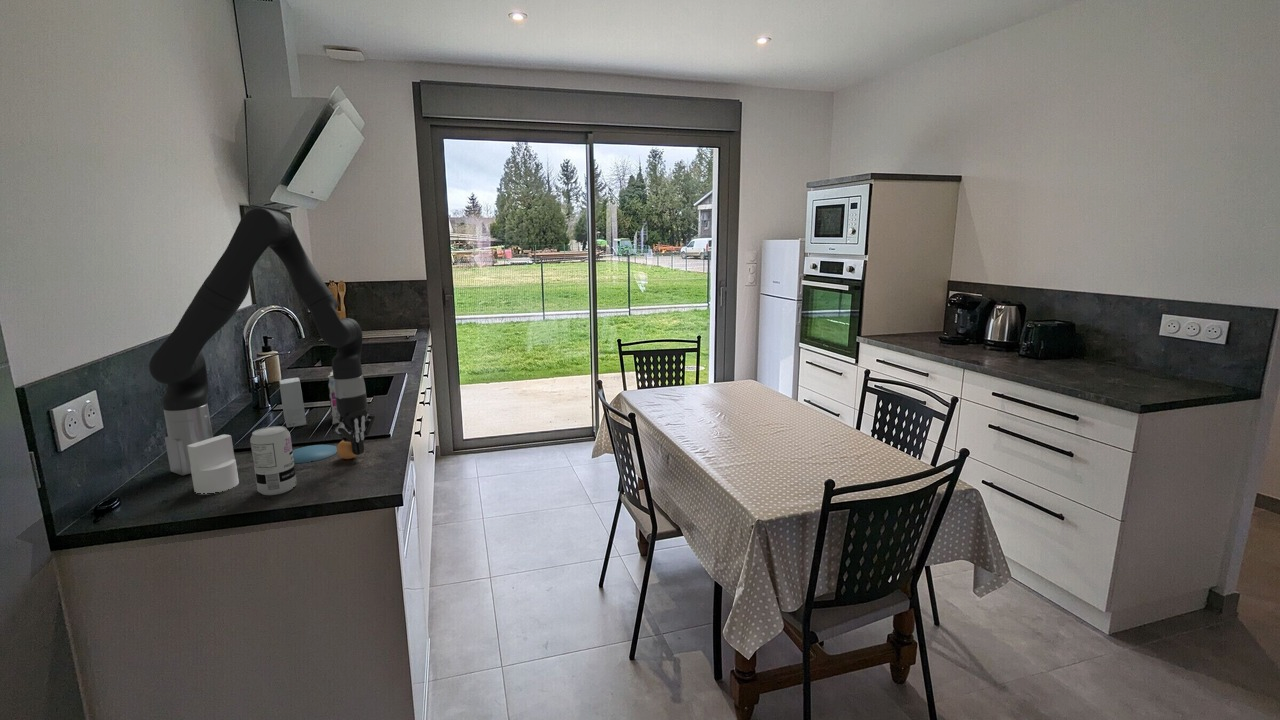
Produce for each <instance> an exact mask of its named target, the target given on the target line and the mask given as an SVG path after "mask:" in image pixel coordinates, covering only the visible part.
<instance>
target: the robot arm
mask: <svg viewBox="0 0 1280 720" xmlns="http://www.w3.org/2000/svg"><path fill="white" fill-rule="evenodd" d="M301 243H302V242H301V241H300V239H299V237H298V235H297V232H296V231H295V228H294V226H293V225H292V222H291V221H290V219H289V218H288V217H287V216H286V215H285V214H283V213H282V212H279V211H276V210H272V209H269V208H263V207H255V208H251V209H249V210H248V211H247V212H246V213H245V214H243V216H242V217H241V219H240V221H239V223H238V225H237V227H236V229H235V231H234V233H233V235H232V237H231V239H230V240H229V243H228V244H227V246H226V248H225V250H224V251H223V253H222V255H221V256H220V258H219V259H218V261H217V262H216V264H215V265H214V267H213V268H212V270H211V271H210V273H209V274H208V276H207V277H206V278H205V280H204V282H203V283H202V284H201V286H200V287H199V289H198V290H197V292H196V294H195V296H194V297H193V299H192V300H191V302H190V303H189V305H188V307H187V308H186V310H185V311H184V313H183V315H182V317H181V318H180V320H179V322H178V324H177V325H176V327H175V328H174V329H173V331H172V332H171V334H170V335H168V336H167V338H166V339H165V341H164V342H163V343H162V344H161V345H160V346H159V348H157V350H156V351H155V352H154V354H153V355H152V356H151V358H150V361H149V365H148V366H149V367H148V369H149V373H150V375H151V377H152V378H153V379H154V380H155V381H156V382H159V383H161V384H166V385H167V387H166V392H165V394H164V395H163V397H162V399H161V402H162V408H163V413H164V415H163V416H164V420H165V426H166V432H167V436H165V437H164V441H165V447H166V452H167V459H168V464H169V469H170V472H172V473H174V474H177V475H180V476H185V475H190V474H191V465H190V459H189V453H188V447H187V445H190V444H193V443H197V442H200V441H203V440H207V439H210V438H213V437H214V435H213V429H212V423H211V416H210V410H209V405H208V393H209V381H208V371H207V364H206V359H205V356H204V354H203V353H202V350H203V348H204V347H205V345H206V344H207V342H209V340H210V339H211V338H212V337H213V336H215V334H217V333H218V332H219V331H220V330H221V329H222V328H223V327H224V326H225V325H226V324H227V323H228V322H229V321H230V320H231V319H232V318H233V316H234V315H235V314H236V312H238V310H239V309H240V307H241V305H242V304H243V302H244V301H245V299H246V298H247V295H248V293H249V289H250V285H251V280H252V279H251V278H252V275H253V270H254V267H255V266H256V264H257V262H258V260H259V259H260V258H261V256H262V255H263V253H264V252H265V251H266V250H267V249H268V248H270V249H271V250H272V251H273V252H274V253H275V254H276V256H277V257H278V258H279V260H280V261H281V262H282V263H283V265H284V267H285V268H286V270H287V273H288V274H289V278H290V281H291V283H292V286H293V288H294V291H295V292H296V294H297V295H298V297H299V299H300V300H301V301H302V302H303V303H302V304H304V306H305V307H306V308H307V311H309V313H310V314H311V317H312V320H313V322H314V325H315V327H316V329H317V332H318V335H319V336H320V338H321V339H322V341H324V343H325V344H327V345H328V346H329V347H331V348H335V349H337V350H336V355H335V356H333V358H332V360H331V369H332V370H331V371H333V378H334V392H335V399H336V407H337V411H338V412H339V414H340V418H339V422H340V424H337V426H335V427H333V428H332V431H333V432H334V433H335V434H336V435H337V436H338V437H339V438H340V439H341V441H342V440H344V441H345V442H351V445H352V452H353V453H354V454H355V455H356V456H359V455H360V456H361V455H362V454H364V453H365V452H364V450H365V445H364V440H365V437H368V436H369V434H370V432H371V429H372V426H373V424H374V421H375V419H376V418H375V415H370V414H369V413H368V410H367V408H368V407H369V405H368V399H367V391H366V390H367V389H366V382H365V379H364V375H363V369H362V368H363V367H362V363H361V356H362V349H363V348H362V347H363V330H362V328H361V326H360V323H358V322H357V321H356V319H354V318H351V317H345V318H344V317H343V318H341V319H340V317H339V315H338V312H337V311H336V310H337V309H338V308H339V303H338V300H337V299H336V297H335V296H334V295H333V294H334V293H332V291H331V290H330V288H329V287H328V286H327V284H326V283H325V282H324V280H323V278H322V277H321V276H320V274H319V272H317V269H316V267H315V266H314V265H313V263H312V261H311V260H310V259H309V256H308V255H307V253H306V251H305V249H304V247H303V245H302V244H301ZM191 475H192V474H191Z"/></svg>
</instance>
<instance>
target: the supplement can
mask: <svg viewBox="0 0 1280 720" xmlns="http://www.w3.org/2000/svg"><path fill="white" fill-rule="evenodd" d="M249 442H250V447H251V454H252V462H253V467H254V468H253V469H254V474H255V482H256V483H255V484H256V488H257V492H258V493H260V494H262V495H264V496H275V495H276V496H277V495H281V494H284V493H287V492H289V491H291V490H293V489H294V488H293V487H295V486H296V485H297V483H298V482H297V474H296V468H295V467H296V466H295V463H294V459H293V451H292V450H293V444H292V437H291V433H290V431H289V430H288V429H287V426H281V425H276V426H275V425H274V426H267V427H261V428H259V429H256V430H254V431H253V432H252V433H251V437H250V438H249Z"/></svg>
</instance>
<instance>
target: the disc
mask: <svg viewBox="0 0 1280 720" xmlns="http://www.w3.org/2000/svg"><path fill="white" fill-rule="evenodd" d="M292 451H293V459H294V464H303V463H306V464H307V463H312V462H311V461H313V462H317V461H321V460H324V459H327V458H330V457H332V456H334V455H335V454H338V453H337V446H335V445H332V444H313V445H307V446H302V447H299V448H295V449H292Z"/></svg>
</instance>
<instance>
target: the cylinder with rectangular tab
mask: <svg viewBox="0 0 1280 720" xmlns="http://www.w3.org/2000/svg"><path fill="white" fill-rule="evenodd" d="M232 438H233V437H232V435H230V434H220V435H218V436H213V438H210V439H207V440H203V441H200V442H197V443H193V444H190V445H187V447H188V453H189V459H190V465H191V479H192V485H193V491H194V493H195V492H196V493H195V494H197V493H201V494H200V495H208V494H207V493H214V494H216V493H215V492H219V493H222V491H223V492H226V491H229V490H231V489H234V488H236V487H237V486H238V485H239V483H240V480H239V474H238V467H237V461H236V457H235V451H234V446H233V440H232ZM233 487H234V488H233ZM228 489H229V490H228ZM203 493H205V494H203Z"/></svg>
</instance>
